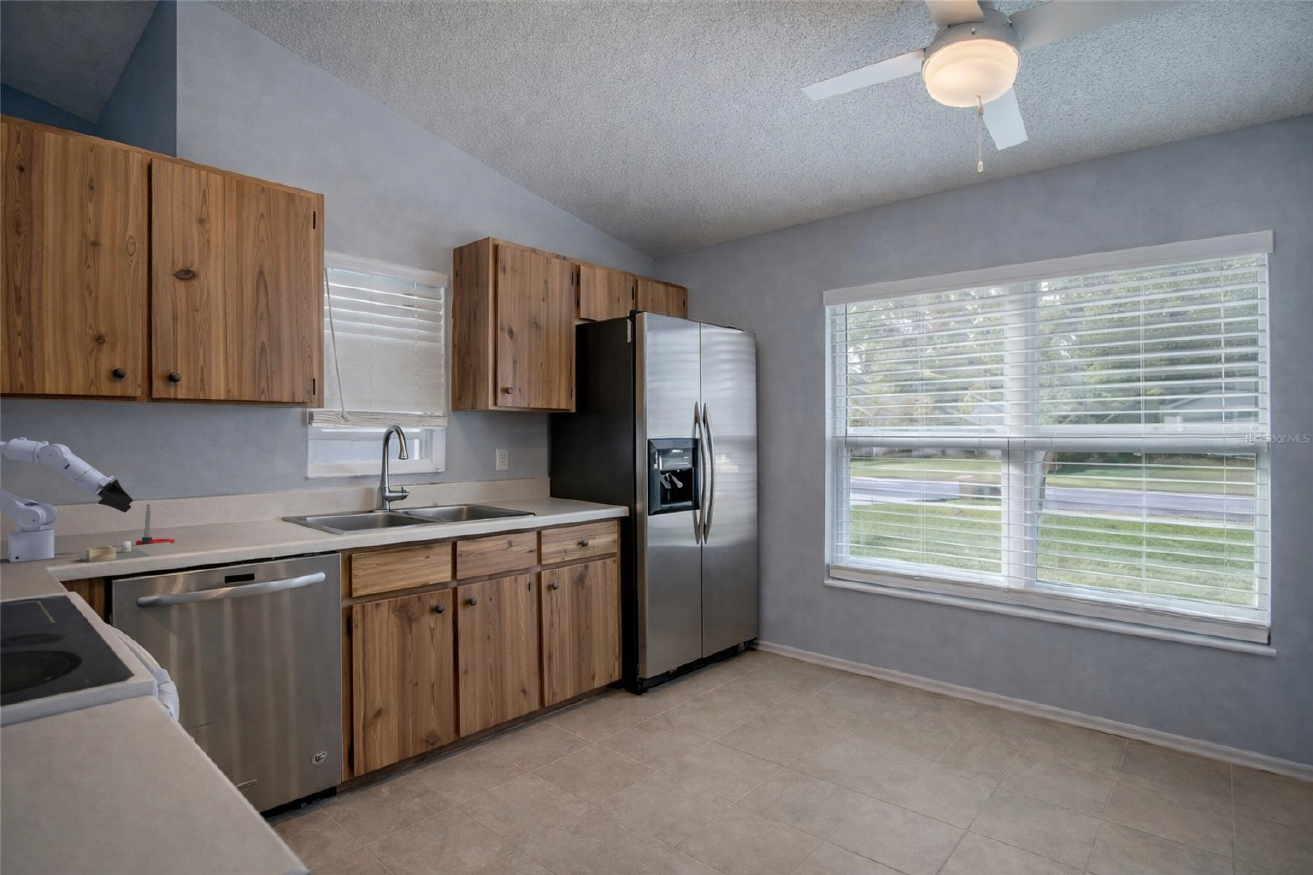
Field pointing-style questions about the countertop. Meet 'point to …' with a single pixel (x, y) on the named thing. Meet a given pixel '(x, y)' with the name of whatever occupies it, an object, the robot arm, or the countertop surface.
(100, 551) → the collar
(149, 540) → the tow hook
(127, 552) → the post mat
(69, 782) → the countertop surface
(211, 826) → the countertop surface
